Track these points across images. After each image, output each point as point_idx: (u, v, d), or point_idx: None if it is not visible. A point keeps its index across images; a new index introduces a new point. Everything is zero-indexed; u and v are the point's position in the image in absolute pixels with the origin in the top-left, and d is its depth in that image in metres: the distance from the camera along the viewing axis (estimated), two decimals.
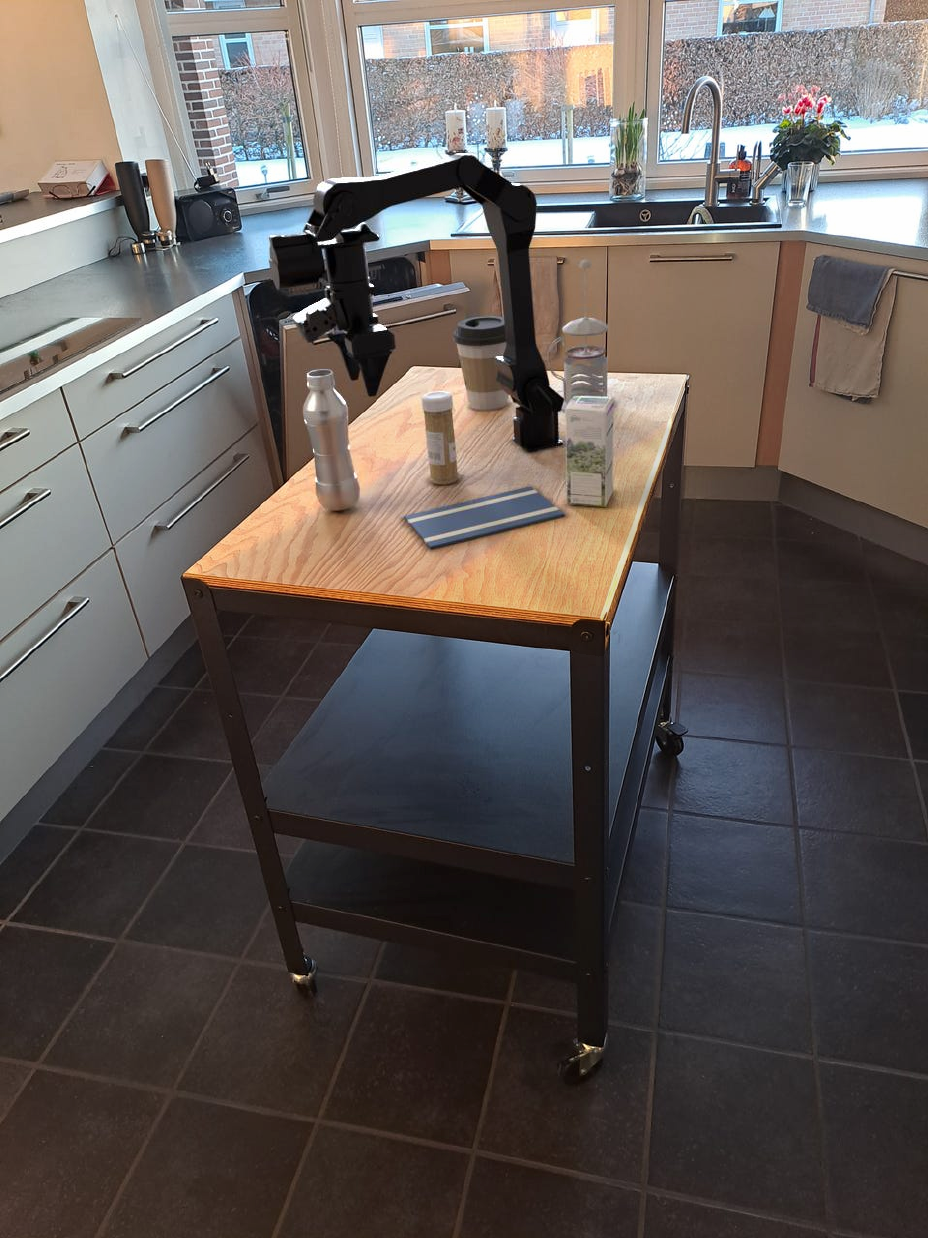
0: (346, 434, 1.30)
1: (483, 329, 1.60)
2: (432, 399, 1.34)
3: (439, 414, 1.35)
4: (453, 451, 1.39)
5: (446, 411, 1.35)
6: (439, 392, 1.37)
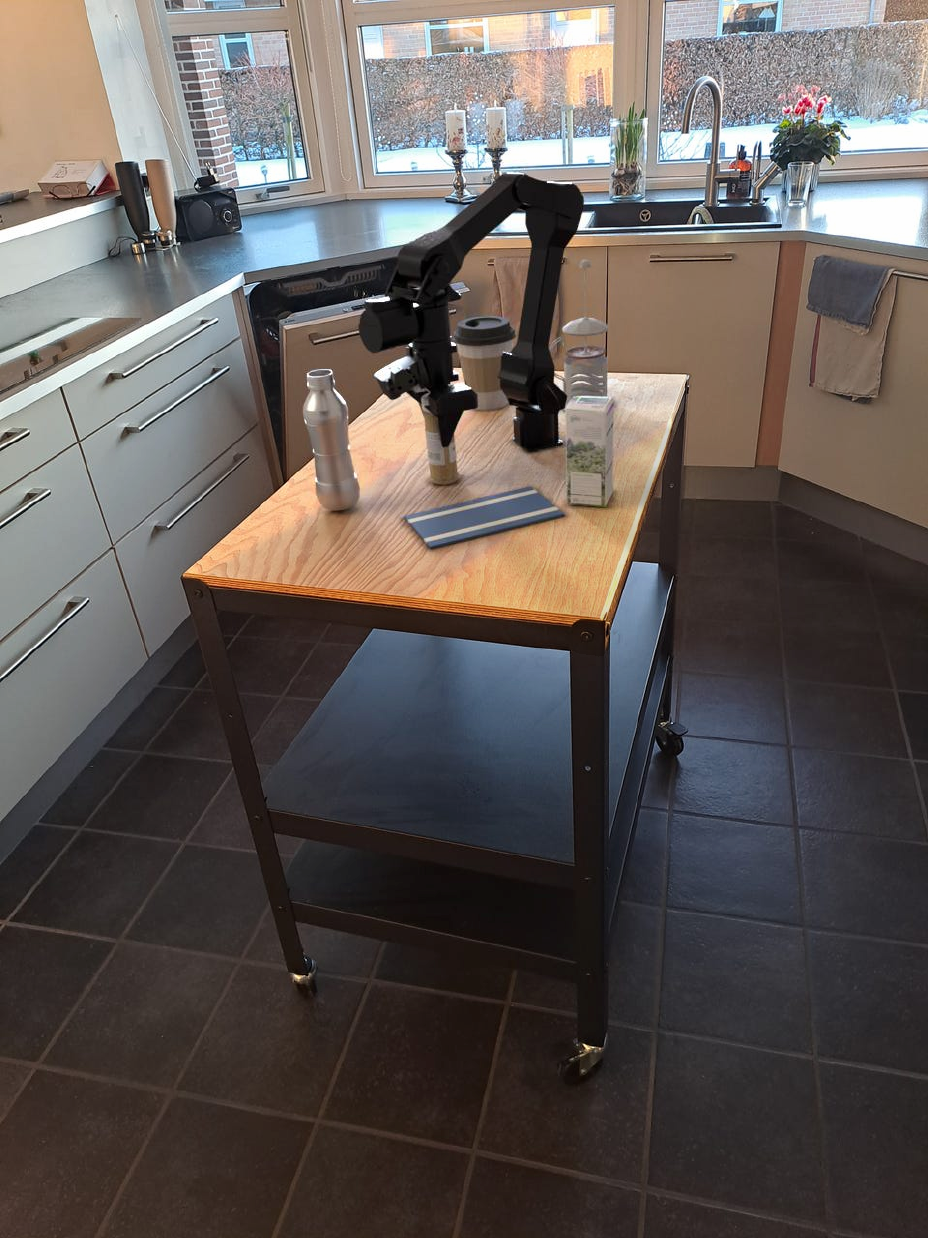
0: (346, 434, 1.30)
1: (483, 329, 1.60)
2: None
3: None
4: (453, 451, 1.39)
5: None
6: None
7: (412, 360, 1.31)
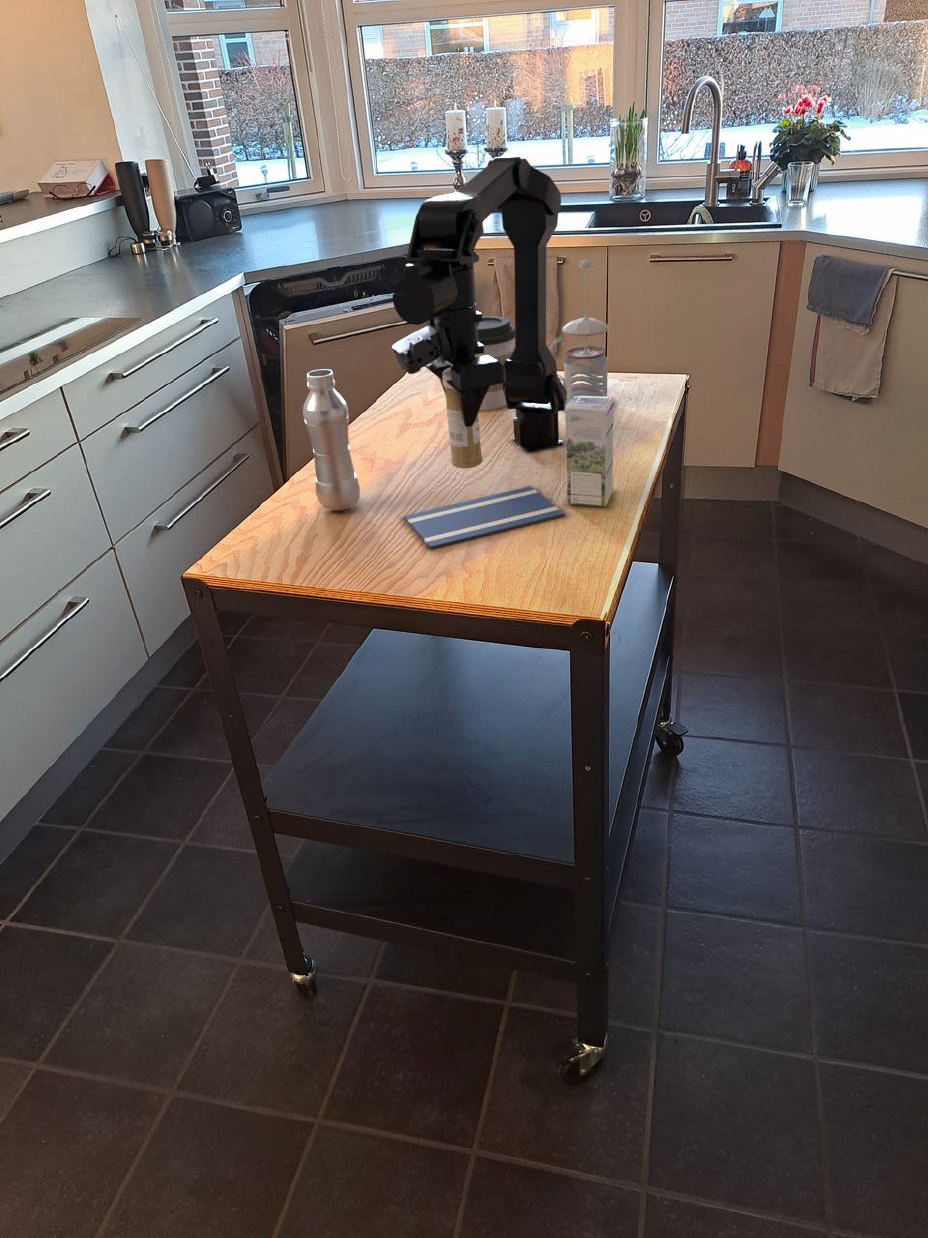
0: (346, 434, 1.30)
1: (483, 329, 1.60)
2: None
3: None
4: (477, 431, 1.27)
5: None
6: None
7: (433, 330, 1.19)
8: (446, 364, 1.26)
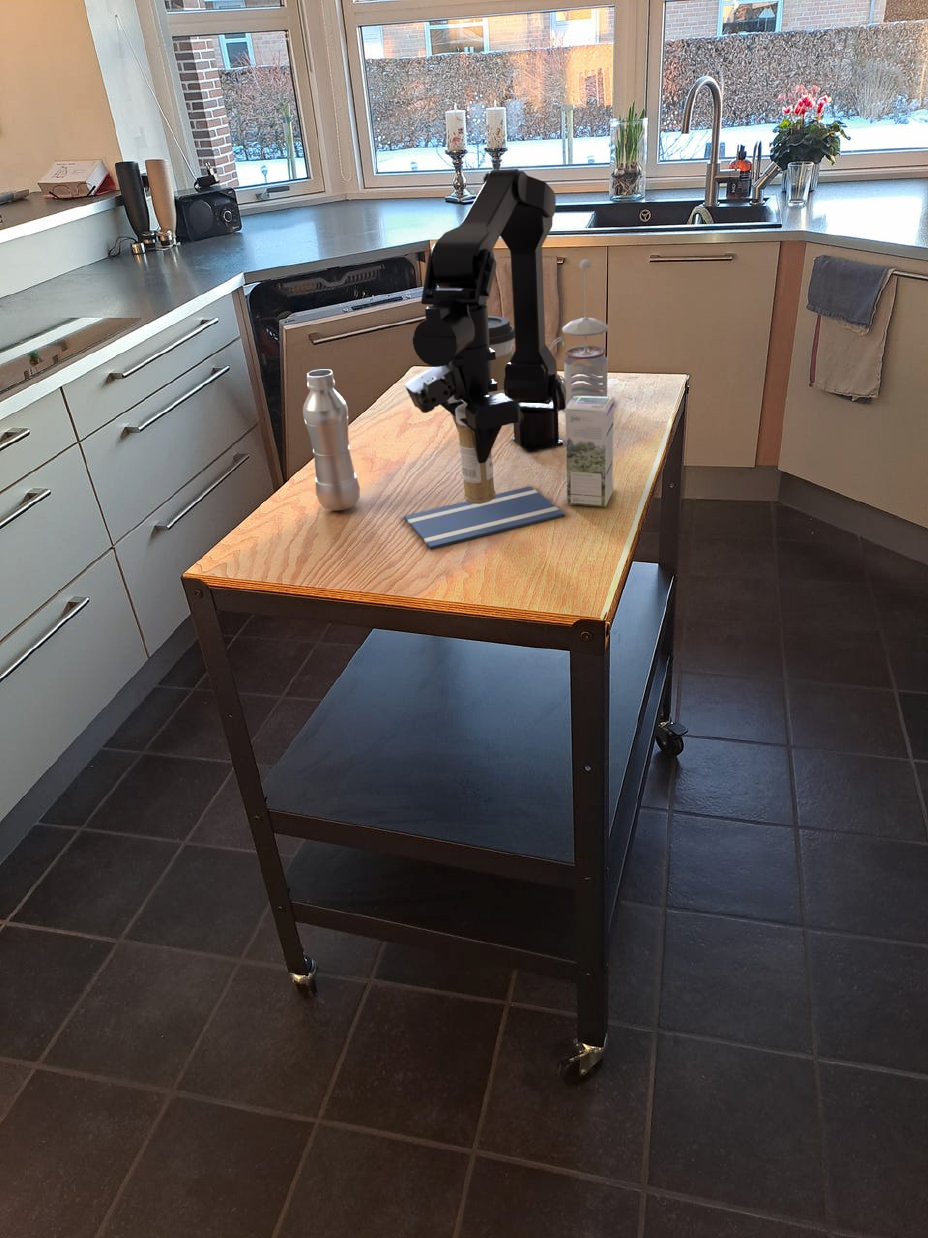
0: (346, 434, 1.30)
1: None
2: None
3: None
4: (490, 467, 1.26)
5: None
6: None
7: (446, 369, 1.19)
8: (458, 400, 1.26)
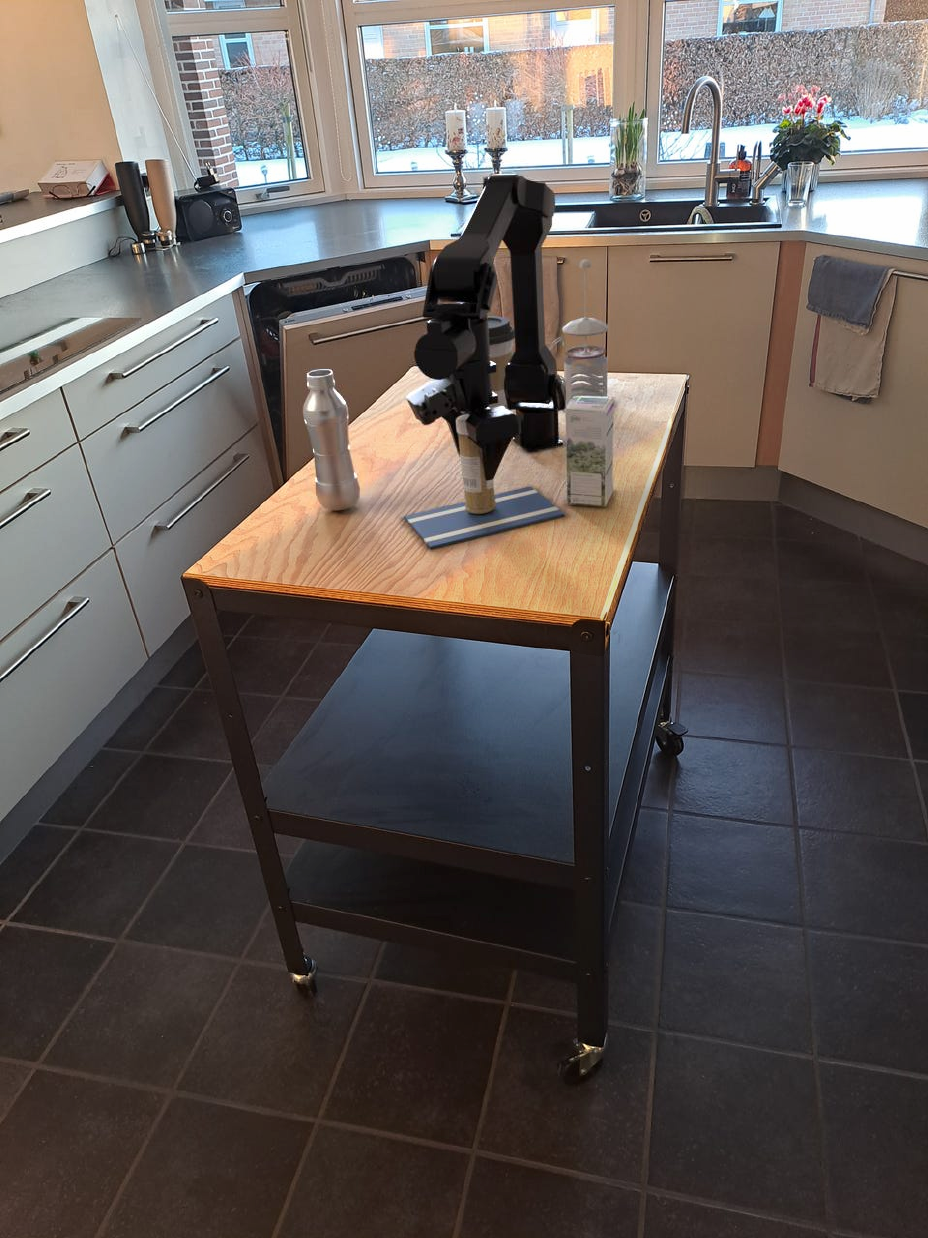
0: (346, 434, 1.30)
1: None
2: None
3: None
4: None
5: None
6: None
7: (447, 381, 1.19)
8: (453, 407, 1.28)
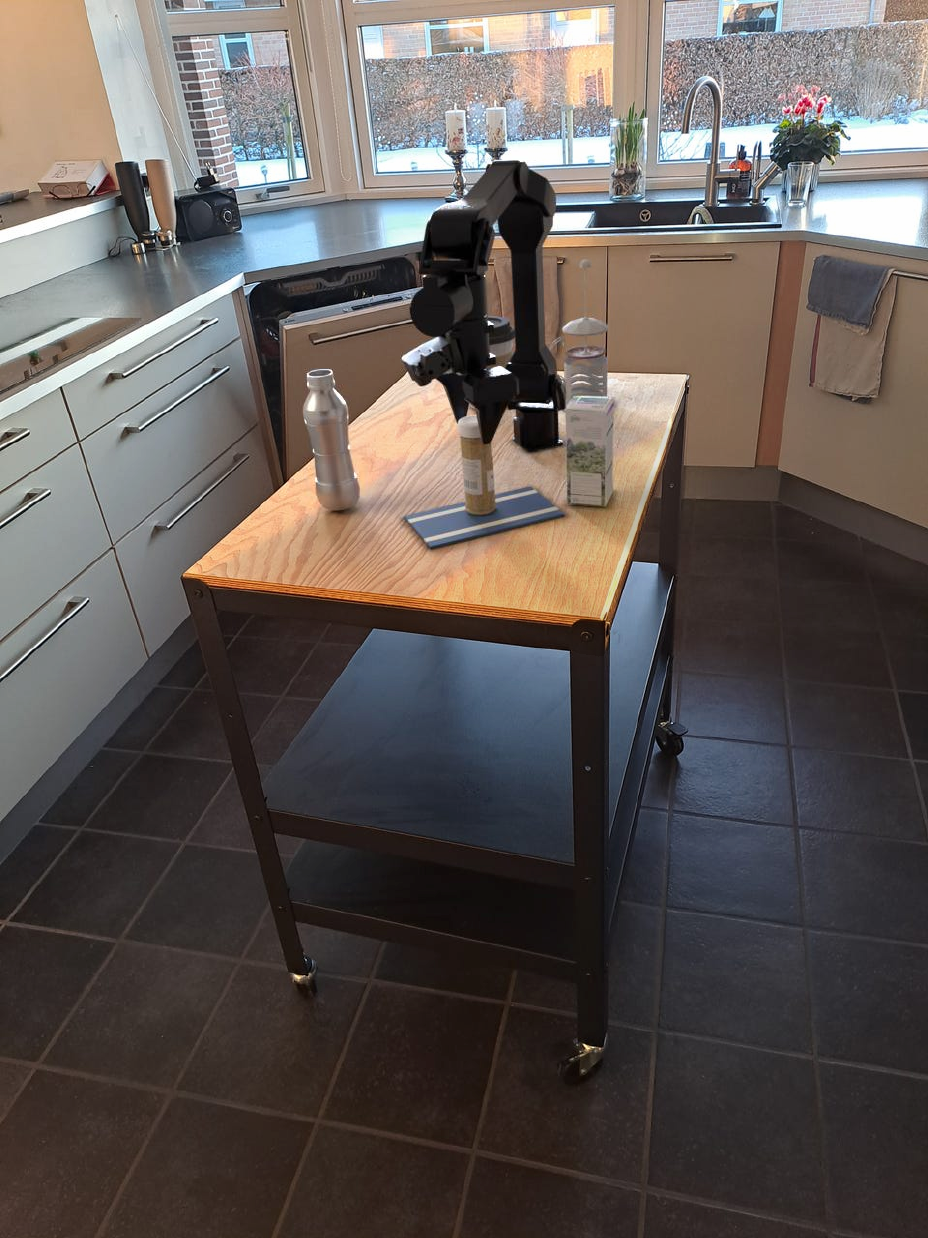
0: (346, 434, 1.30)
1: None
2: (470, 424, 1.23)
3: (477, 440, 1.24)
4: (491, 479, 1.28)
5: None
6: None
7: (444, 341, 1.17)
8: (450, 371, 1.25)
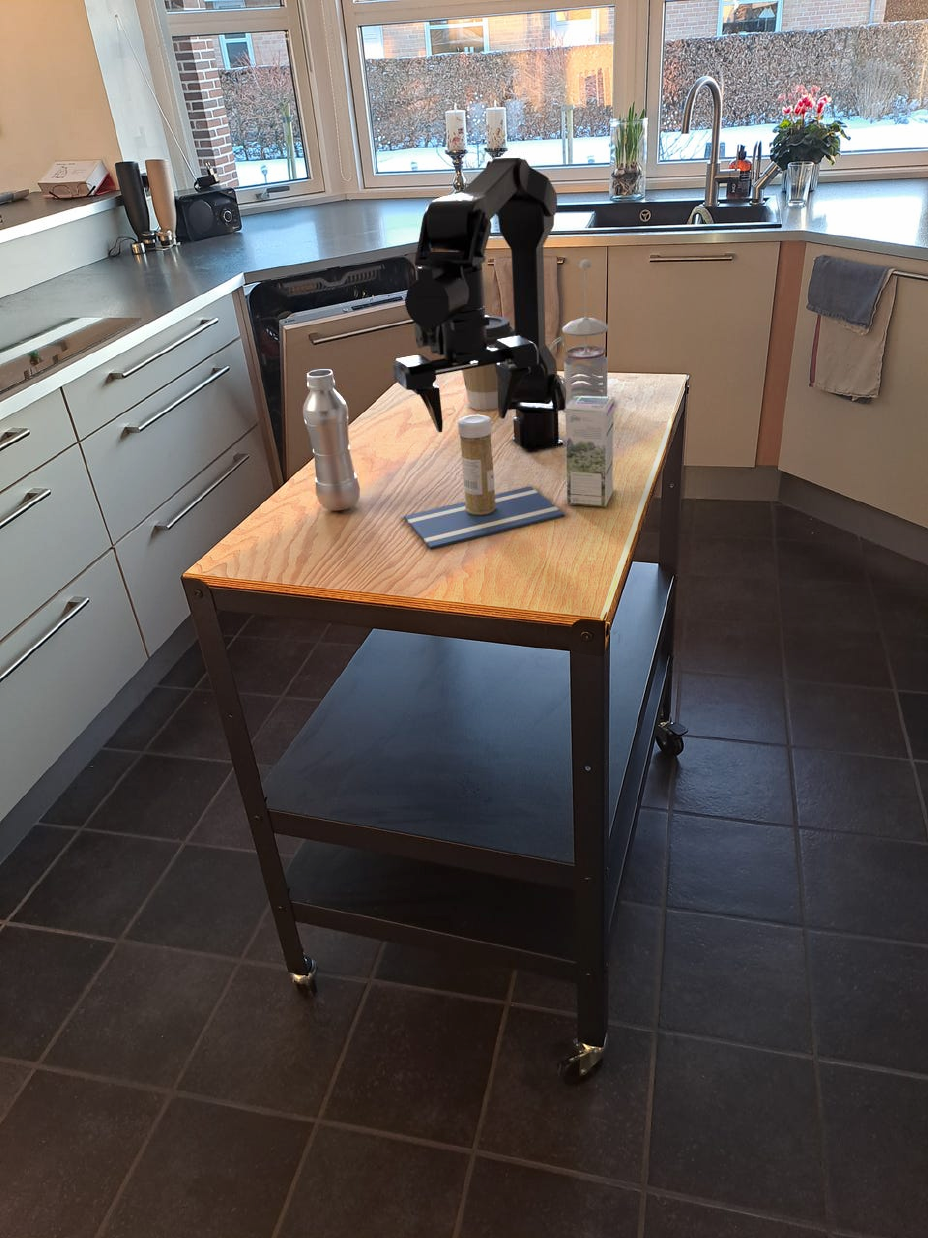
0: (346, 434, 1.30)
1: None
2: (470, 424, 1.23)
3: (477, 440, 1.24)
4: (491, 479, 1.28)
5: (485, 437, 1.24)
6: (477, 416, 1.25)
7: None
8: (503, 363, 1.24)
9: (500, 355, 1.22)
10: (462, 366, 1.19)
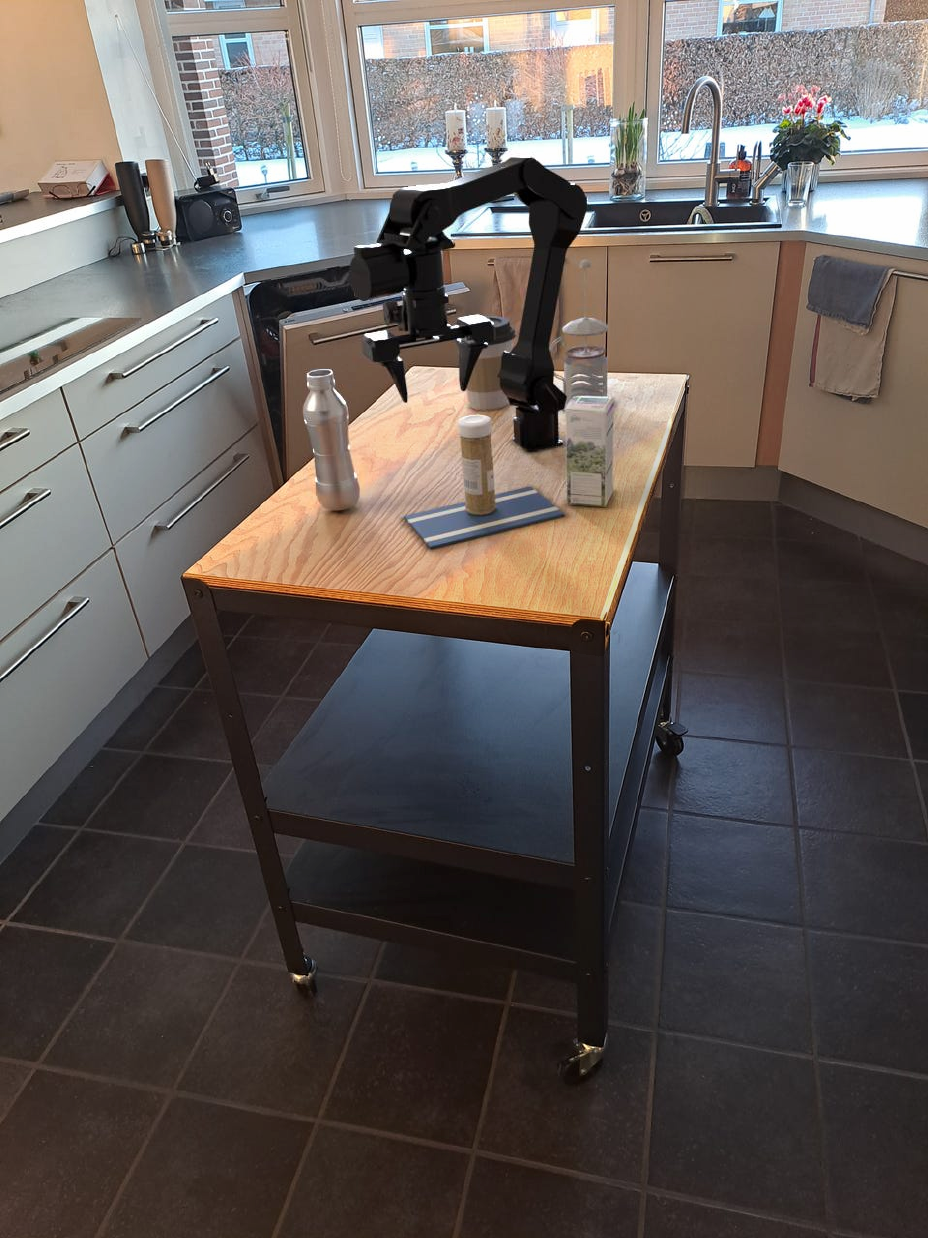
0: (346, 434, 1.30)
1: None
2: (470, 424, 1.23)
3: (477, 440, 1.24)
4: (491, 479, 1.28)
5: (485, 437, 1.24)
6: (477, 416, 1.25)
7: None
8: (463, 340, 1.35)
9: (460, 332, 1.33)
10: (424, 341, 1.30)
